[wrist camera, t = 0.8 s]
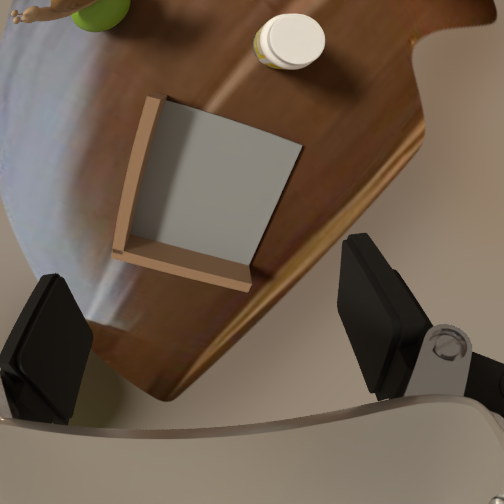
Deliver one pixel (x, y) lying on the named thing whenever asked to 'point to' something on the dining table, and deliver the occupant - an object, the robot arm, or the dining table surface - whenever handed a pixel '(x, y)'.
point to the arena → (199, 193)
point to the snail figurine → (79, 13)
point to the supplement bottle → (289, 42)
